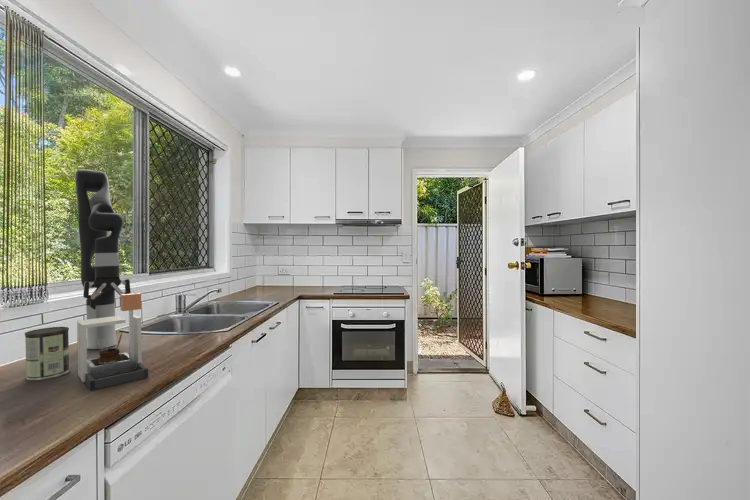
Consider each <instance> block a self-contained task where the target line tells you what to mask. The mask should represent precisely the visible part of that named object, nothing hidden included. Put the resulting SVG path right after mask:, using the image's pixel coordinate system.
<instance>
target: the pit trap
mask: <svg viewBox="0 0 750 500" xmlns="http://www.w3.org/2000/svg"><path fill="white" fill-rule="evenodd" d="M147 378H149V369H148V368H147V367H146V366H145V365H144V364H141V363H137V369H136V370H132V371H127V372H123V373H118V374H113V375H109V376H104V377H100V378H93V377H92V376H91V374H90V373H87V374H85V382H84V383H85V385H87V387H88V389H89V391H95V390H100V389H104V388H107V387H112V386H116V385H121V384H125V383H129V382H133V381H134V382H135V381H138V380H143V379H147Z"/></svg>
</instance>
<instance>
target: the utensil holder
mask: <svg viewBox="0 0 750 500" xmlns="http://www.w3.org/2000/svg"><path fill="white" fill-rule="evenodd" d="M122 336H123V333H121V334H119V338H118V340H117V341H118V342H117V347H115V348H109V347H107V348H105V349H104V348H103V347H102V348H101V349H99V350H100V351H99V357H98V358H99V359H98V366H99V365H104V364H109V363H114V362H119V361H121V356H120V354H121V353H120V349H119V346H120V343H121V341H122V340H121V339H122ZM102 339H103V340H104V338H102ZM105 340H106V339H105ZM106 341H107V340H106ZM103 342H105V341H103ZM100 344H102V343H100ZM98 345H99V344H98ZM105 345H106V344H105Z"/></svg>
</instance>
